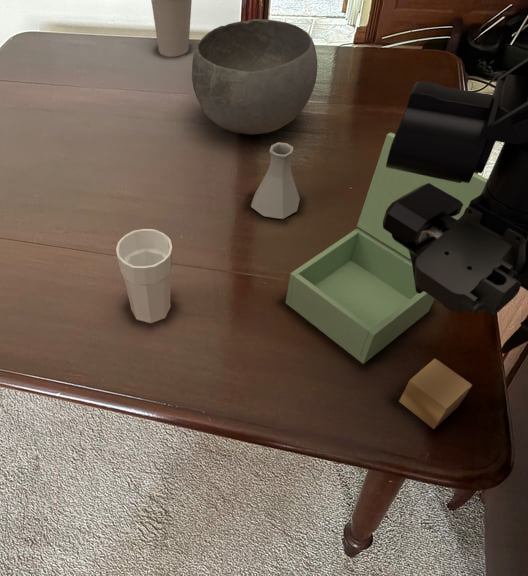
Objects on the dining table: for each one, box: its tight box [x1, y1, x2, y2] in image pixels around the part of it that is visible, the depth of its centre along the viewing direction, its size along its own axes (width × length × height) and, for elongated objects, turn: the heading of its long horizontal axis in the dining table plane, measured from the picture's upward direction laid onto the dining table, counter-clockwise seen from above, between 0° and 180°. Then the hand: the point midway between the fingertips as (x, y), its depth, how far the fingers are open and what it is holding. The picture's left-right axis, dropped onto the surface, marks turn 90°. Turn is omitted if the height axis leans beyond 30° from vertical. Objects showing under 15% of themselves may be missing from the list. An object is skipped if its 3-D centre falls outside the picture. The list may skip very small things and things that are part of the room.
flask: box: [250, 141, 301, 220], centre depth 83 cm, size 7×7×10 cm
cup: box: [115, 228, 173, 324], centre depth 71 cm, size 7×7×11 cm
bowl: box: [191, 18, 318, 135], centre depth 96 cm, size 20×20×15 cm
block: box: [398, 358, 473, 430], centre depth 61 cm, size 4×4×4 cm
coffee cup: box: [151, 0, 193, 58], centre depth 117 cm, size 10×10×15 cm
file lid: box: [356, 132, 488, 260], centre depth 65 cm, size 13×12×1 cm
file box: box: [285, 227, 436, 365], centre depth 70 cm, size 12×12×6 cm
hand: (460, 319), depth 55 cm, fingers open, 9 cm apart
